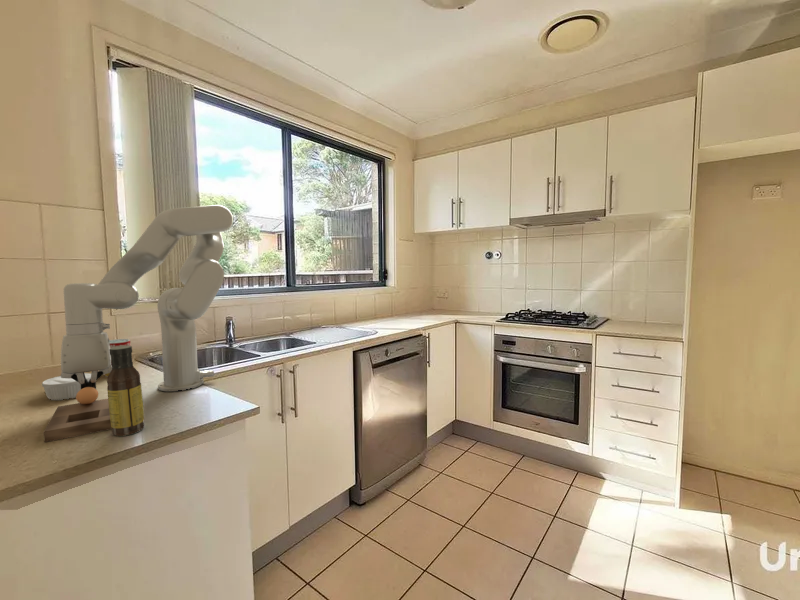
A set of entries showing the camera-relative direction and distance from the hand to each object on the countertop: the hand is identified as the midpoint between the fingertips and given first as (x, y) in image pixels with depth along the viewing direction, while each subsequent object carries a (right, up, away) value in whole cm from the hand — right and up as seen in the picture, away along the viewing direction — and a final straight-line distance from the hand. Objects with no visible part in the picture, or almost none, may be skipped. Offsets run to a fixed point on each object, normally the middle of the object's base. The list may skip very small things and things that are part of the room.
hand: (89, 396), depth 99 cm
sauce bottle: (+21, -5, -14) cm, 26 cm away
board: (+8, -4, -9) cm, 12 cm away
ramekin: (-14, -3, +10) cm, 18 cm away
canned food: (-17, -1, +32) cm, 37 cm away
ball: (+3, +1, -4) cm, 5 cm away
